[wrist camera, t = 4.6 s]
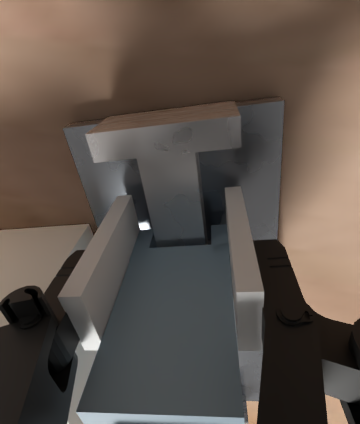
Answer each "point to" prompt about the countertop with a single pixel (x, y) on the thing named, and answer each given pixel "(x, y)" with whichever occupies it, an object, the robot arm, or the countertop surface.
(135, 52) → the countertop surface
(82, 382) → the white push button housing
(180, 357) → the carriage
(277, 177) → the rail
